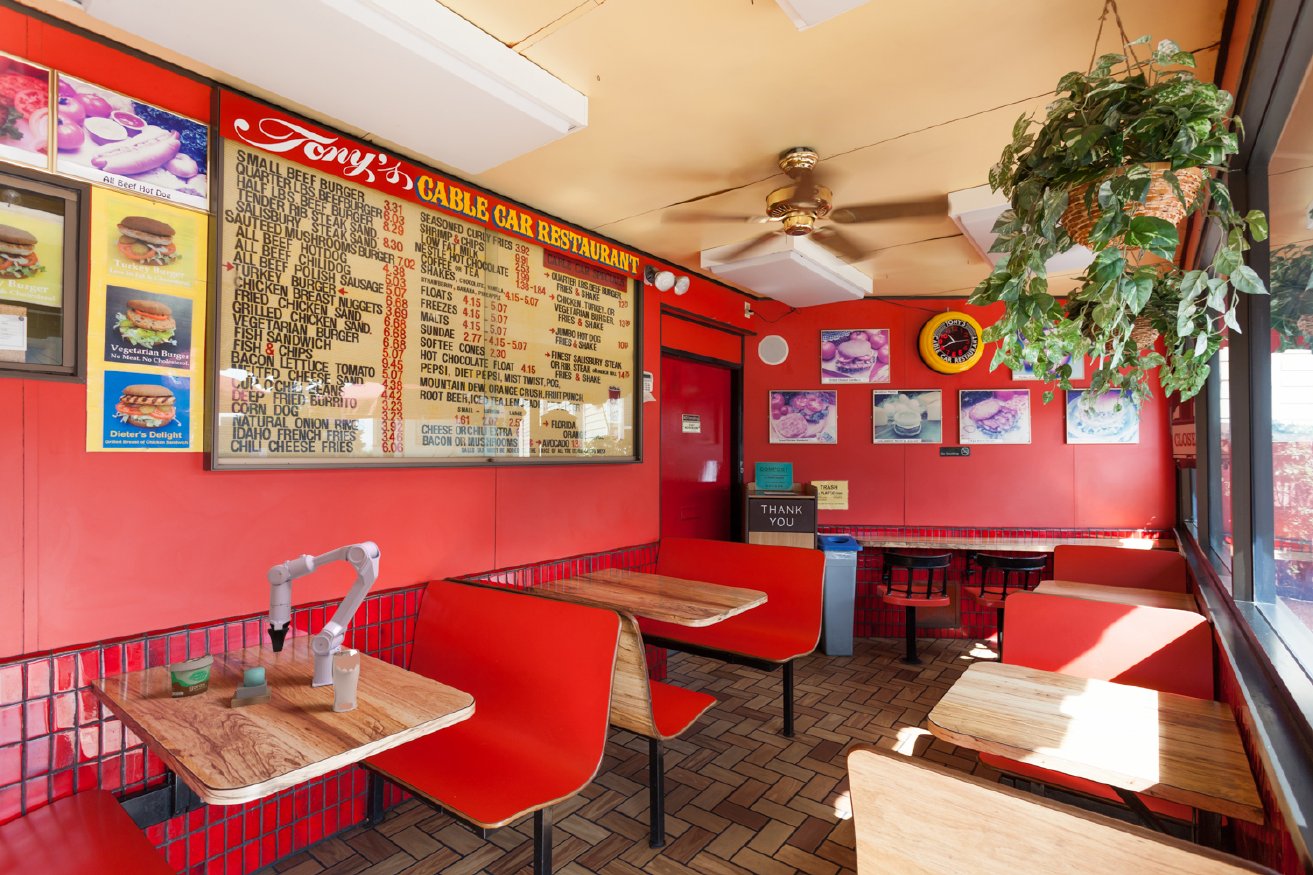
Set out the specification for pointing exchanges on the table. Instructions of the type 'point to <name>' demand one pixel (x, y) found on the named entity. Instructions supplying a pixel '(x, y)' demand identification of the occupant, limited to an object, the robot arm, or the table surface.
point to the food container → (190, 676)
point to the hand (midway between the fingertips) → (278, 648)
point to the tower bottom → (251, 699)
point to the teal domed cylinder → (254, 676)
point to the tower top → (251, 690)
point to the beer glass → (345, 679)
